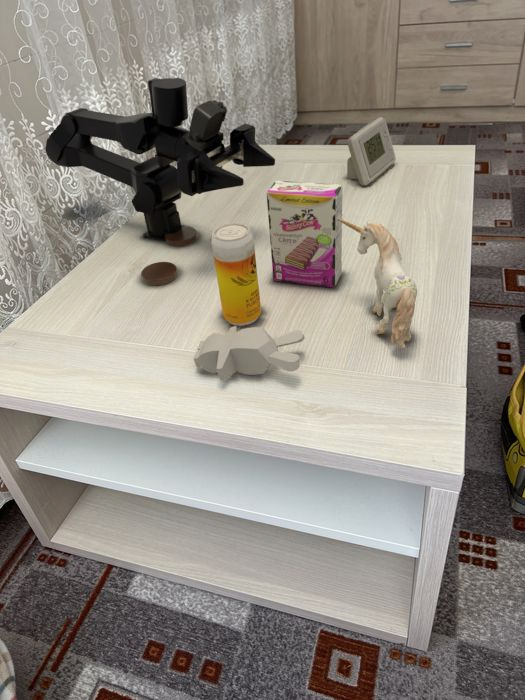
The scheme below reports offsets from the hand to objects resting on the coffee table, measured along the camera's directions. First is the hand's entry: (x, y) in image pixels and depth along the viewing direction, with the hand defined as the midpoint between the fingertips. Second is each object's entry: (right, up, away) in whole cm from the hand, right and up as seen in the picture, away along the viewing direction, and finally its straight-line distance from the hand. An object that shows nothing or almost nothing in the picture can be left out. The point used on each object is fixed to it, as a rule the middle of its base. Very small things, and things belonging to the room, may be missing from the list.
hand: (259, 172), depth 91 cm
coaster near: (-18, -16, +9) cm, 26 cm away
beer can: (-3, -24, -3) cm, 24 cm away
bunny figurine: (-1, -32, -12) cm, 34 cm away
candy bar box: (+8, -17, +4) cm, 20 cm away
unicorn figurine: (+17, -25, -7) cm, 31 cm away
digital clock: (+26, +12, +38) cm, 47 cm away
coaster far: (-16, -7, +20) cm, 26 cm away
